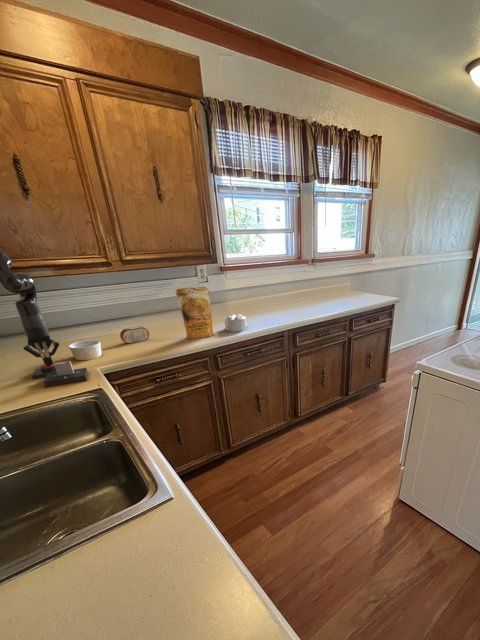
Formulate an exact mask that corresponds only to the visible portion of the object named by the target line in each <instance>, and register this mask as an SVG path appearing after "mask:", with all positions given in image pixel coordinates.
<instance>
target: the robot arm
mask: <svg viewBox="0 0 480 640" xmlns="http://www.w3.org/2000/svg"><path fill="white" fill-rule="evenodd" d="M12 266H13V261H12V259H11V258H10V257H9V256H8V255H7V254H6V252H5V251H4V250H3V248H1V247H0V286H1V287H2V288H3V290H5V291H6V292H8V293H10V294H15V295H18V296H19V297H18V299H16V300H15V301H14V306H15V308H16V311H17V313H18V316H19V319H20V320H19V321H20V323H21V327H22V328H23V331H24V333H25V336H26V338H27V344H26V345H24V346H23V350H24V351H26V352H28V353H29V354H31V355H32V356H34V357H36V358H40V359H42V361H43V363H44V364H43V365H47V366H51V365H52V364H53V363H54V361H53V358H52V356H54V355H55V354H56V352H57V350H58V348H59V346H60V345H61V342H60V341H57V340H54V339H53V337H51V334H50V332H49V329H48V326H47V324H46V321H45V318H44V317H43V315H42V312H41V309H40V306H39V304H38V296H37V287H36V283H35V280H34V278H32V277H31V275H29V274H28V273H26V272H12V270H11V269H10V268H11V267H12ZM51 346H53V348H52V350H51V351H50V348H51ZM36 350H37V351H36Z"/></svg>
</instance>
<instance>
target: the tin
mask: <svg viewBox="0 0 480 640" xmlns="http://www.w3.org/2000/svg"><path fill="white" fill-rule="evenodd" d="M119 336H120V340H121V341H122V342H123V343H125V344H133V343H138V342H143V341H147V340H148V339H149V338H150V331H149V330H148V328H146V327H145V326H142V325H138V326H132V327H126V328H123V329H122V330H121V332H120V334H119Z"/></svg>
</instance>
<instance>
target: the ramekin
mask: <svg viewBox="0 0 480 640" xmlns="http://www.w3.org/2000/svg"><path fill="white" fill-rule="evenodd" d="M101 345H102V344H101V341H100V340H95V339H91V340H88V339H87V340H81V341H77V342H73V343H71V344H70V345H69V346H68V349H69V350H70V353H71V354H72V356H73V357H74V359H75V360H77V361H89V360H95V359H97V358H99V357H101V356H102V347H101Z"/></svg>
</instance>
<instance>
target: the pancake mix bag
mask: <svg viewBox="0 0 480 640" xmlns="http://www.w3.org/2000/svg"><path fill="white" fill-rule="evenodd" d="M175 295H176V300H177V302H178V306H179V311H180V313H181V316H182V319H183V324H184V327H185V331H186V337H185V339H190V340H192V339H199V338H210V337H212V336H215V334H214V330H213V329H214V327H213V314H212V303H211V297H210V292H209V288H207V287H206V286H197V287H182V288H176V289H175Z"/></svg>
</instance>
